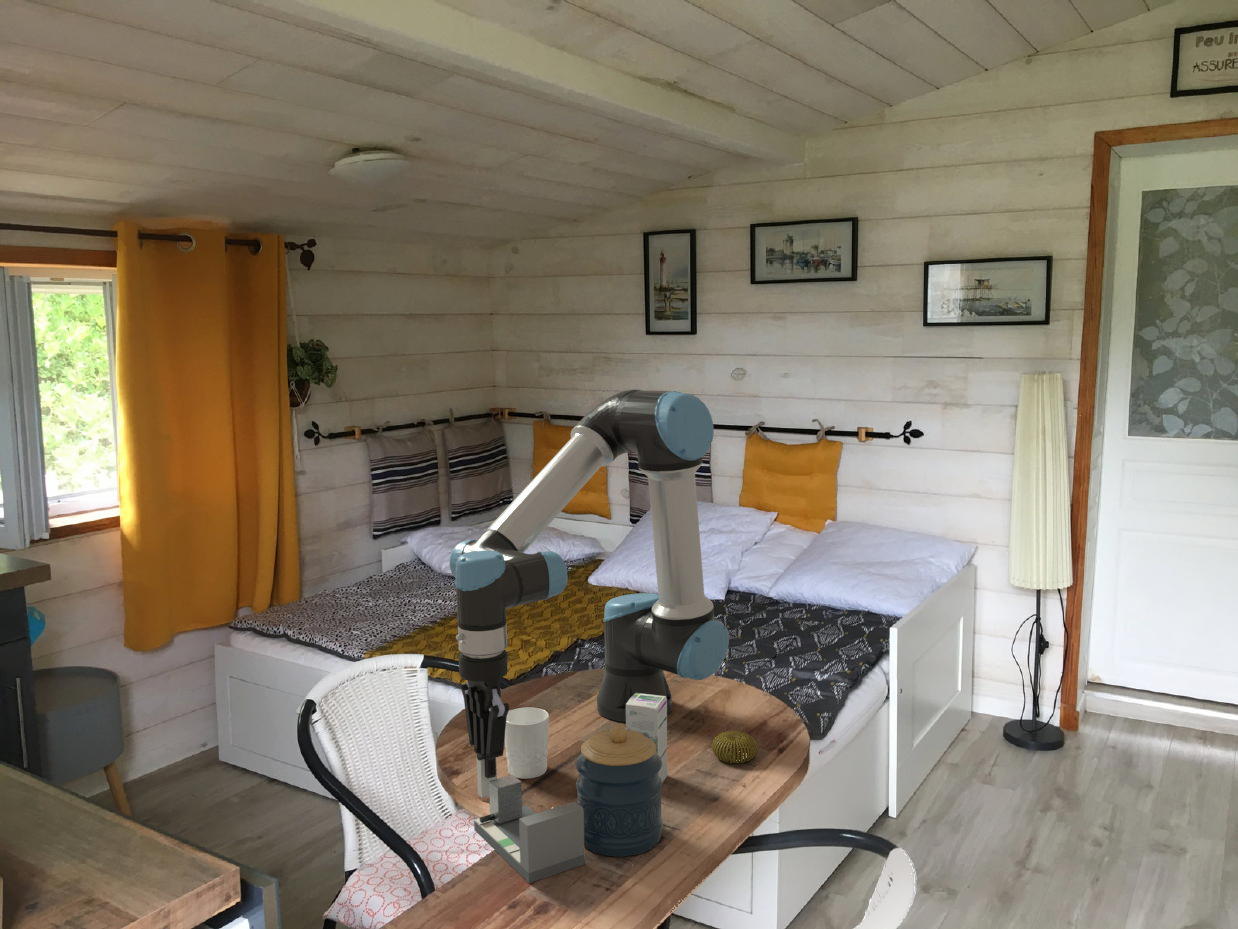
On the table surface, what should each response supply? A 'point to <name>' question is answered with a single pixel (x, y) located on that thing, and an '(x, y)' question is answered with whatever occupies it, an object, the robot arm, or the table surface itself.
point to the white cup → (527, 742)
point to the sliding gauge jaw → (504, 800)
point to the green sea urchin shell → (734, 746)
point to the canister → (620, 792)
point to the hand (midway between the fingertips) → (487, 793)
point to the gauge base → (539, 840)
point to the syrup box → (650, 722)
